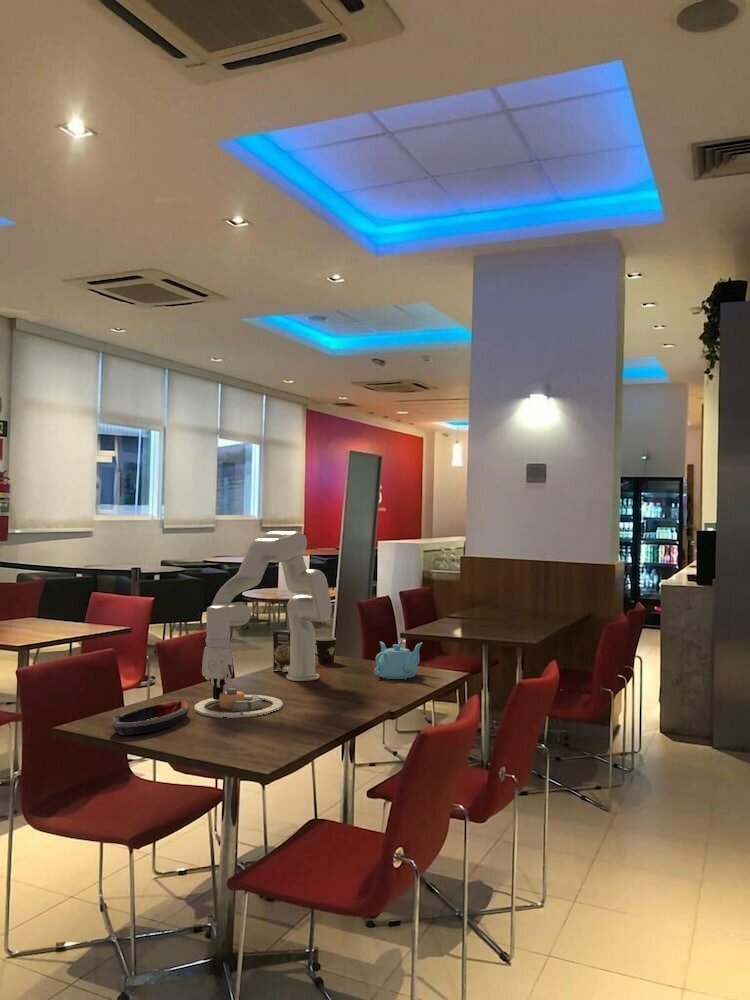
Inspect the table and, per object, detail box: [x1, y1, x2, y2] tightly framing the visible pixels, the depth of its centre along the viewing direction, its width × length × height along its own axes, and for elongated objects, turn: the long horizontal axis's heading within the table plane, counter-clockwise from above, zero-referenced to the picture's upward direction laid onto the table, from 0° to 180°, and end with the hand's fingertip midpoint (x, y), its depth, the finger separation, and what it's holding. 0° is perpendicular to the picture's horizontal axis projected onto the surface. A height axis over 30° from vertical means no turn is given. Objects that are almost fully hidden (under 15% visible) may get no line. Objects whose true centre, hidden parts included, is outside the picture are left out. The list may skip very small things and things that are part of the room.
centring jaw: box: [231, 694, 262, 713], centre depth 263 cm, size 6×12×3 cm, turn 148°
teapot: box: [373, 641, 423, 680], centre depth 314 cm, size 17×19×12 cm
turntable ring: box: [194, 694, 284, 719], centre depth 265 cm, size 28×28×1 cm
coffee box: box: [272, 629, 290, 672], centre depth 326 cm, size 9×6×16 cm
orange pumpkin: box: [219, 687, 245, 710], centre depth 267 cm, size 8×8×6 cm
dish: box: [111, 699, 190, 736], centre depth 244 cm, size 16×31×5 cm, turn 153°
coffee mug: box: [315, 636, 337, 665], centre depth 343 cm, size 12×9×10 cm
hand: (218, 698), depth 270 cm, fingers closed
